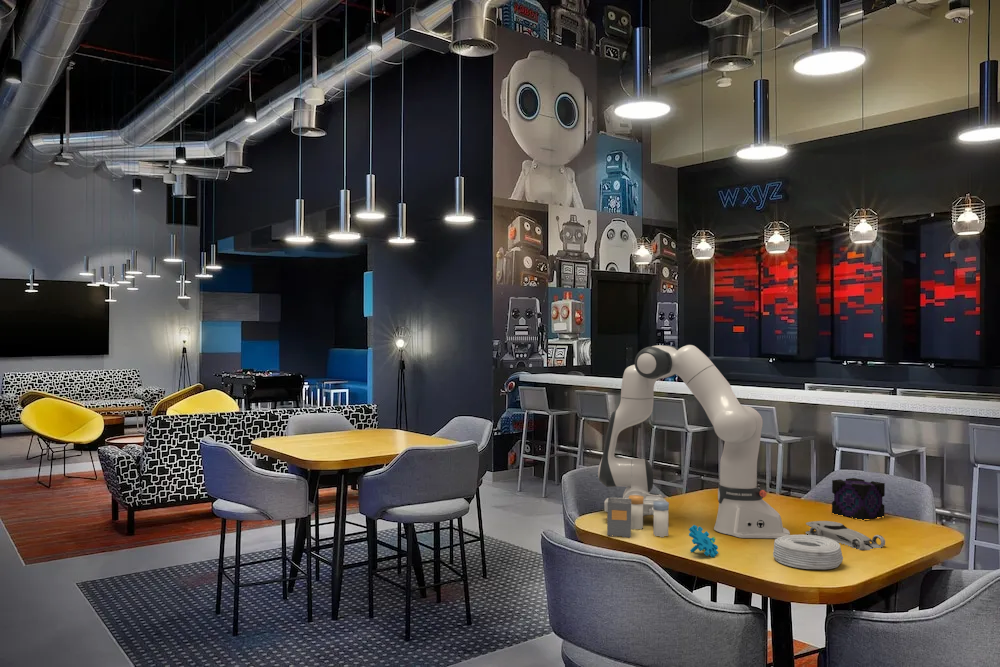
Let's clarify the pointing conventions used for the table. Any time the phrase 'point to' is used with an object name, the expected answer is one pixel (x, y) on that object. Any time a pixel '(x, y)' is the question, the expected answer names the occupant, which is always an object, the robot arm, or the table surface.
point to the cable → (807, 552)
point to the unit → (619, 517)
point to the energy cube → (858, 498)
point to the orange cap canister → (636, 511)
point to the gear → (703, 541)
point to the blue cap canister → (660, 518)
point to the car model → (843, 535)
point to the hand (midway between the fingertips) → (636, 511)
